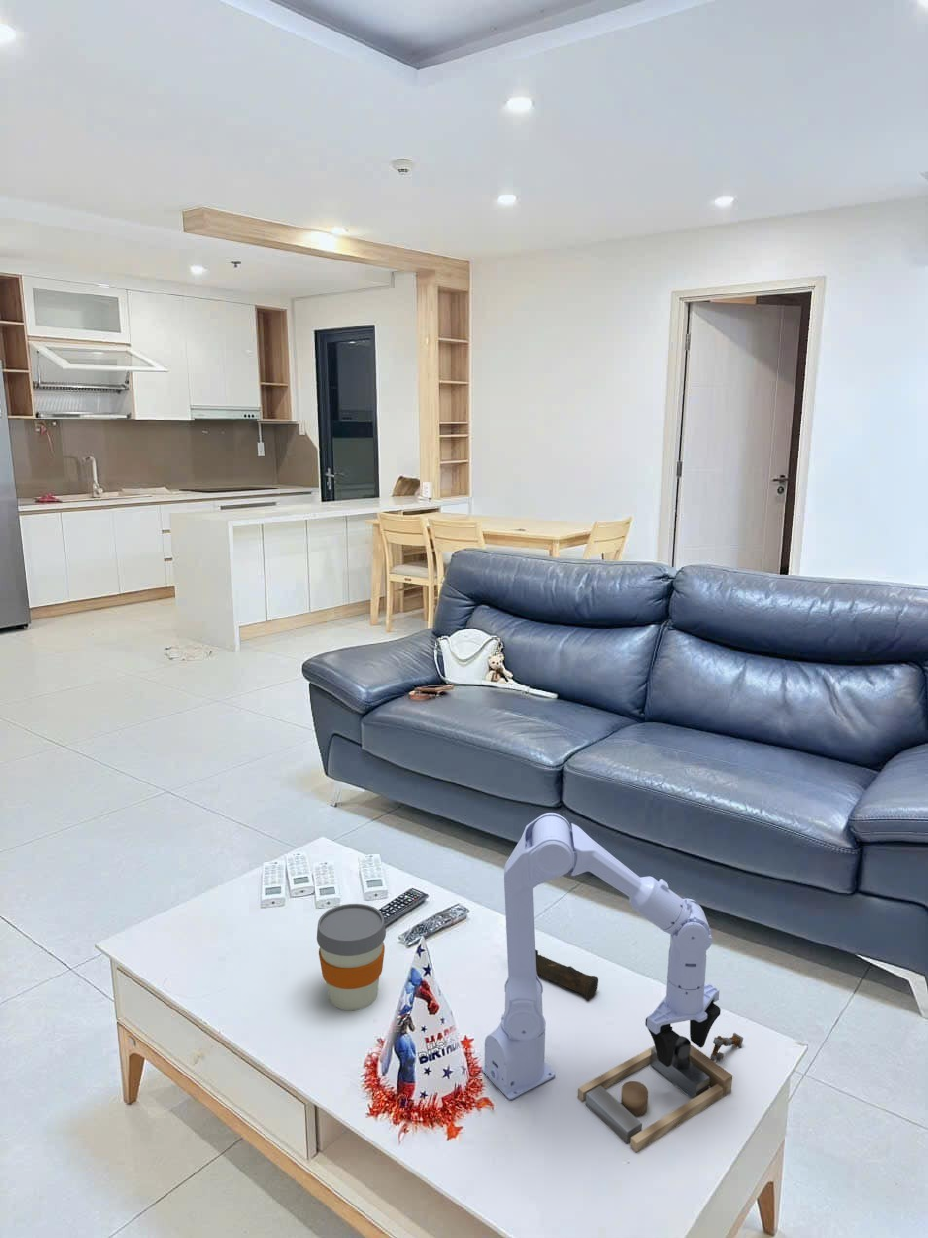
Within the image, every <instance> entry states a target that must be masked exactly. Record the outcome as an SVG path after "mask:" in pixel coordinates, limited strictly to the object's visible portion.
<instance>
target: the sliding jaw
mask: <svg viewBox="0 0 928 1238" xmlns="http://www.w3.org/2000/svg"><path fill="white" fill-rule="evenodd" d="M691 1042H692V1041H691V1040H690V1039H689V1038H687V1037H686V1036H682V1035H680V1037H679V1039H678V1040H677V1042H676V1045H675V1048H674V1052H673V1059H672V1063H671V1066H669V1067H666V1066H665V1065H664V1064H662V1063H661V1062H660V1061H659V1060H658V1056H657V1051H656V1047H654V1048H652V1049H651V1062H650V1064H649V1065H650V1066H651V1067H652V1068H654V1069H655V1070H656V1071H657V1072H659V1073H660V1074H661V1075H662V1076H664V1077H665V1078H666V1079H667V1080H668V1081H669V1082H671V1084H673V1085H674V1086H676V1087H677V1088H678V1089H679V1090H680V1091H682V1092H683V1093H684V1094H685V1095H686V1096H688V1097H689V1098H690V1099H691V1100H692V1099H694V1098H695V1097H697V1096H698V1095H700V1094H702V1093H703V1092H705V1091H706V1090H708V1089H710V1087H709V1080H710V1077H709V1076H707V1075H706V1074H705V1073H703V1072H702V1071H701V1070H700V1069H698V1068H697V1067H696V1066H694V1065H693V1064H692V1063H691V1062H690V1051H691V1045H692V1043H691Z"/></svg>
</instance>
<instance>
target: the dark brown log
mask: <svg viewBox="0 0 928 1238" xmlns="http://www.w3.org/2000/svg"><path fill="white" fill-rule="evenodd" d="M535 956H536V973H537V976H538V975H539V976H540V977H542V978H545V979H547V980H549V981H551V982H554V983H556V984H558V985H560V986H563V987H565V988H567V989H569V990H571V991H574V992H576V993H578V994H581V995H582V996H585V999H586V1000H587V1001H588V1002H589V1001H590V1000H591V999H592V998H594V996H595V995H596V994H597V993H596V992H597V991H598V985H599V978H598V976H595V975H588V974H585V973H583V972H581V971H579V970H576V969H575V968H573V967H572V966H571V965H570V966H567V965H565V964H562V963H560V962H557V961H555V960H552V959H549V958H548V957H545V956H543V955H542V954H539V951H538V950H537V949H536V948H535Z"/></svg>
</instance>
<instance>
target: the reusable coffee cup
mask: <svg viewBox="0 0 928 1238" xmlns="http://www.w3.org/2000/svg"><path fill="white" fill-rule="evenodd" d="M386 935H387V929H386V921H385V917H384V915H383V913H382V912H381V911H380V910H379V909H377V908H376V907H374V906H371V905H368V904H362V903H347V904H342V905H337V906H334V907H332V908H330V909H328V910H327V911H325V912H324V913H322V915H320V917H319V920H318V922H317V930H316V941H317V944H318V946H319V949H318V957H319V962H320V966H321V967H320V969H321V974H322V978H323V980H324V981H325V984H326V986H327V987H326V988H327V994H328V999H329V1003H331V1004H332V1006H334V1007H336V1008H338V1009H341V1010H346V1011H355V1010H356V1011H357V1010H361V1009H364V1008H366V1007H368V1006H370V1005H371V1004H372V1003H374V1001H375V1000H376V998H377V997H378V989H379V981H380V977H381V975H382V972H383V968H384V959H385V951H386V949H385V948H386V946H385V943H384V941H385V939H386V937H387V936H386Z"/></svg>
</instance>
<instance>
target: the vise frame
mask: <svg viewBox="0 0 928 1238" xmlns="http://www.w3.org/2000/svg"><path fill="white" fill-rule="evenodd" d="M654 1047H655V1045H652V1046H651V1047H650V1048H648V1049H645V1050H644V1051H642V1052H640V1053H638V1054H637V1055H635V1056H633V1057H631V1058H630V1059H628V1060H625V1061H624V1062H622V1063H620V1064H618V1065H617V1066H615V1067H613V1068H612V1069H610V1070H608V1071H606V1072H604V1073H603V1074H600V1075H599V1076H597V1077H595V1078H594V1079H592V1080H590V1081H588V1082H586V1083H584V1084H583V1085H581V1086H579V1087H577V1098H578V1097H579V1098H580V1099H581V1102H584V1101H585V1105H586V1107H587V1108H589V1109H590V1110H591V1111H592V1112H593V1113H594V1114H595V1115H596V1116H597V1117H598V1118H599V1119H600V1120H601V1121H602V1122H604V1123H605V1125H607V1127H608V1128H610V1129H611V1130H612V1131H613V1132H614V1133H615V1134H616V1135H617V1136H618V1137H619V1138H620V1139H621V1140H623V1142H625V1144H628V1143H630V1146H629V1147H630V1148H631V1149H632V1150H633V1151H634V1152H635V1153H637V1152H640V1150H642V1149H644V1148H645V1147H647V1146H648V1145H650V1144H652V1143H653V1142H655V1141H656V1140H658V1139H659V1138H662V1137H663V1136H665V1134H667V1133H669V1132H670V1131H672V1130H673V1129H675V1128H677V1127H679V1126H680V1125H681V1124H683V1123H684V1122H686V1121H688V1120H689V1119H691V1118H692V1117H694V1116H695V1115H697V1114H699V1113H700V1112H702V1111H703V1110H705V1109H707V1108H708V1107H710V1106H711V1105H713V1104H714V1103H716V1102H718V1101H719V1100H720V1099H723V1098H724V1097H725V1096H727V1095H728V1094H730V1093H731V1092H732V1086H733V1085H732V1084H733V1075H732V1074H731V1073H730V1072H728V1071H727V1070H725V1069H724V1068H723V1067H721V1065H719V1064H718V1063H716V1061H715V1062H714V1061H713V1060H711V1059H710V1056H709V1057H708V1056H707V1055H706V1054H704V1053H703V1052H702V1051H701V1050H699V1049H698V1048H696V1046H694V1045H693V1044H691V1051H690V1062H691V1063H692V1064H693V1065H694V1066H696V1067H697V1068H698V1069H700V1070H701V1071H702V1072H703V1073H705V1074H706V1075H707V1076H709V1077H710V1080H709V1089H708V1090H706V1091H705V1092H703V1093H702V1094H700V1095H698V1096H697V1097H695V1098H694V1099H692V1098H691V1100H689V1101H687V1102H685V1103H684V1104H683V1105H681V1106H680V1107H677V1108H676V1109H674V1110H672V1111H671V1112H670V1113H668V1114H666V1115H665V1116H662V1117H661V1118H660V1119H659V1120H657V1121H655V1122H654V1123H652V1124H650V1125H649V1126H647V1127H646V1128H644V1129H643V1127H642V1126H643V1123H642V1121H640V1120H639V1119H638V1118H637V1117H635V1116H634V1115H632V1114H631V1113H630V1112H629V1111H628V1110H627V1109H626V1108H625V1107H624V1106H623V1105H621V1103H620V1102H619V1101H618V1100H617V1099H616V1098H615V1097H614V1096H612V1095H611V1093H610V1092H608V1091H607V1090H606V1089H607V1088H609V1087H611V1086H613V1085H615V1084H616V1083H618V1082H620V1081H621V1079H622V1080H623V1079H625V1078H626V1077H629V1076H631V1075H632V1074H634V1073H636V1072H637V1071H639V1070H641V1069H642V1068H644V1067H646V1066H648V1065H650V1062H651V1049H652V1048H654ZM619 1080H620V1081H619ZM614 1083H615V1084H614ZM579 1098H578V1099H579ZM580 1099H579V1100H580Z"/></svg>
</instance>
